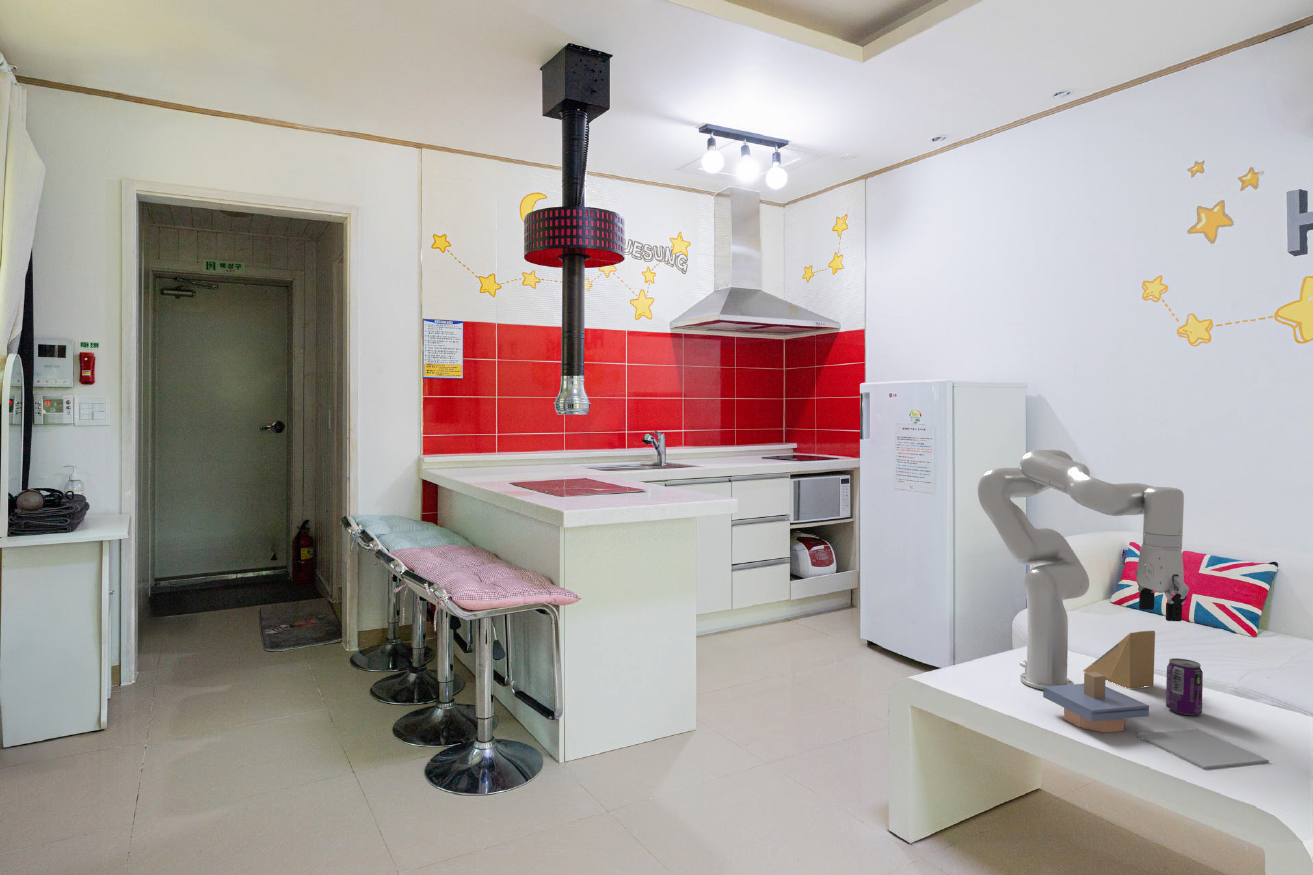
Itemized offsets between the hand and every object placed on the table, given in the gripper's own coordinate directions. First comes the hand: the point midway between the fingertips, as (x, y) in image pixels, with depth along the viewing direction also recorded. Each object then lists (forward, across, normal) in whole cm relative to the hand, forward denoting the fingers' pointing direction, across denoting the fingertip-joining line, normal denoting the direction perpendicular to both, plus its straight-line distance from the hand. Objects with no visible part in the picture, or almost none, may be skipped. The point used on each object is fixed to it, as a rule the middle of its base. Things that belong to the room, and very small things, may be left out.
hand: (1159, 614), depth 172 cm
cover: (+22, 0, -14) cm, 26 cm away
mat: (+25, +14, +1) cm, 29 cm away
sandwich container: (+26, -31, +9) cm, 41 cm away
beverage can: (+25, -7, +11) cm, 29 cm away
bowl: (+25, 0, -14) cm, 29 cm away
